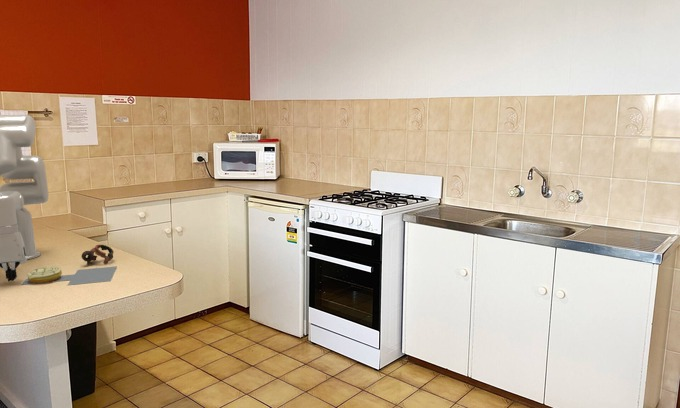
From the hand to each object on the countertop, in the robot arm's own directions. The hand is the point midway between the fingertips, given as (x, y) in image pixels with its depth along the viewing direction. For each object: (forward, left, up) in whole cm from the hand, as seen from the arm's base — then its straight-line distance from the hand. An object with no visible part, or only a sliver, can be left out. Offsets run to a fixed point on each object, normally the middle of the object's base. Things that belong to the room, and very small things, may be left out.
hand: (11, 280), depth 188 cm
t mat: (+19, 0, -1) cm, 19 cm away
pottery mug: (+25, +18, -2) cm, 31 cm away
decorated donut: (+11, 0, -1) cm, 11 cm away
